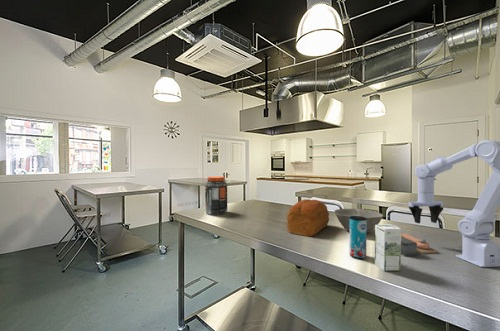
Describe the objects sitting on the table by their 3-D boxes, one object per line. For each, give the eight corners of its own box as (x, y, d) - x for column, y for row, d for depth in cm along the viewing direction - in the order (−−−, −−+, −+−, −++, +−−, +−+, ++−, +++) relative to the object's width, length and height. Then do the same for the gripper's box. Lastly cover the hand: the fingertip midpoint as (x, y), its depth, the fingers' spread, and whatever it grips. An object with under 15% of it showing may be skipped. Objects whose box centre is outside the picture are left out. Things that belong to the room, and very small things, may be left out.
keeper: (416, 255, 90) (416, 242, 90) (404, 256, 90) (404, 243, 90) (402, 248, 98) (402, 236, 98) (391, 248, 97) (391, 236, 97)
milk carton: (390, 263, 83) (390, 223, 83) (401, 271, 77) (401, 228, 77) (374, 264, 83) (374, 223, 83) (384, 272, 77) (384, 228, 77)
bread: (330, 225, 133) (330, 198, 133) (314, 238, 112) (314, 205, 111) (303, 221, 143) (303, 195, 142) (284, 232, 121) (284, 202, 121)
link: (431, 249, 94) (431, 241, 94) (422, 249, 94) (422, 241, 94) (406, 237, 108) (406, 231, 108) (397, 238, 108) (397, 231, 108)
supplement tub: (212, 210, 178) (212, 176, 177) (231, 211, 171) (231, 176, 171) (200, 214, 163) (200, 177, 163) (220, 216, 157) (220, 177, 156)
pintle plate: (438, 253, 93) (438, 251, 93) (421, 253, 92) (421, 251, 92) (424, 246, 100) (424, 244, 99) (408, 247, 99) (408, 245, 99)
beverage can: (356, 260, 86) (357, 220, 86) (346, 254, 92) (346, 216, 91) (370, 258, 88) (370, 218, 87) (358, 252, 93) (358, 215, 93)
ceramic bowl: (390, 239, 109) (390, 218, 108) (338, 236, 113) (338, 216, 113) (374, 226, 130) (374, 209, 130) (331, 224, 135) (331, 207, 135)
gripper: (433, 190, 107) (433, 220, 108) (403, 191, 107) (403, 220, 107) (447, 192, 100) (447, 224, 101) (415, 193, 99) (415, 224, 100)
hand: (425, 222), depth 103 cm, fingers open, 7 cm apart
